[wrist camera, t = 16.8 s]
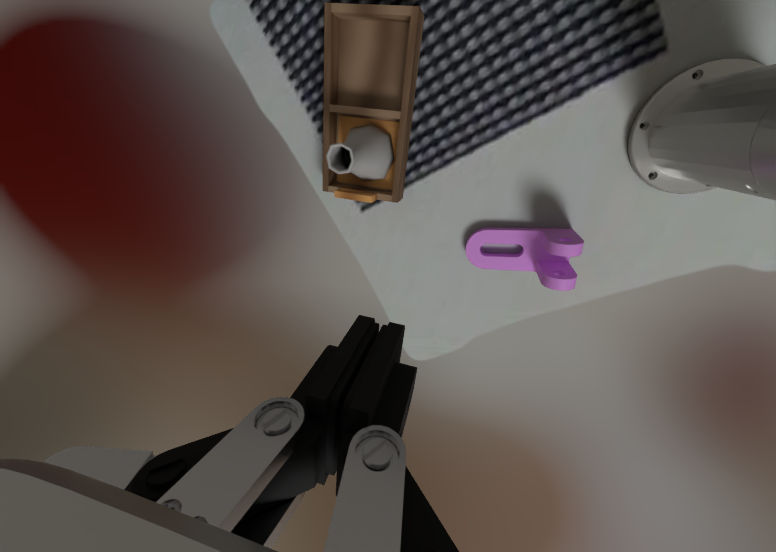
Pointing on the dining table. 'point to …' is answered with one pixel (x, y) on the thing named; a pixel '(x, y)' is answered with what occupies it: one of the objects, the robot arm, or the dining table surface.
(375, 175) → the flask
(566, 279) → the bracket
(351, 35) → the divided wooden tray
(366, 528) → the robot arm
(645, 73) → the dining table surface
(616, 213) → the dining table surface
